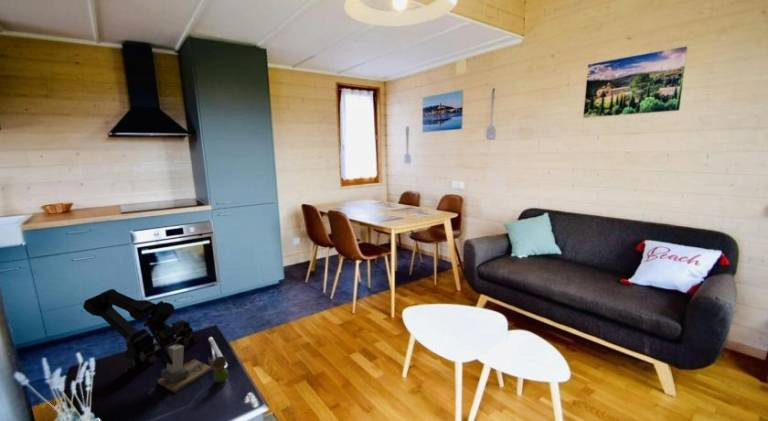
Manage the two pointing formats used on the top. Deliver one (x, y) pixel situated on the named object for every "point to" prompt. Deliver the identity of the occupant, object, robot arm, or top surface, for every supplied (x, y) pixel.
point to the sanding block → (175, 364)
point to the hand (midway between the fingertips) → (178, 360)
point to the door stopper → (191, 339)
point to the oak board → (194, 372)
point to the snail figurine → (219, 369)
